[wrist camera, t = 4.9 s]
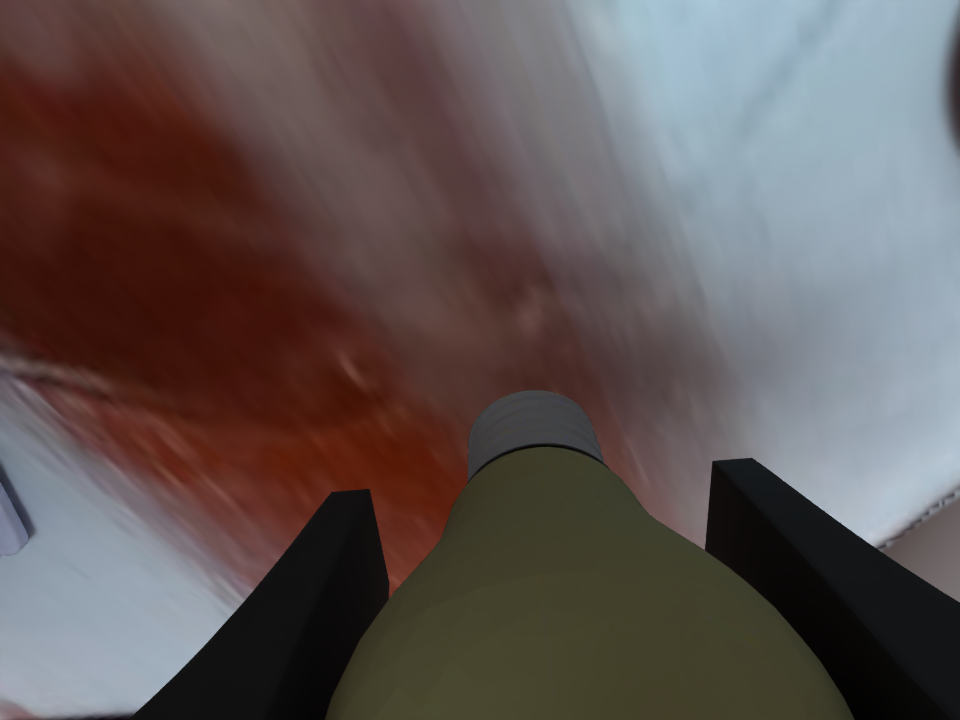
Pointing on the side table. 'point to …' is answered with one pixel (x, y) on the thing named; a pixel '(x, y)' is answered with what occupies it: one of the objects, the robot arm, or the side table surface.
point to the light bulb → (572, 603)
